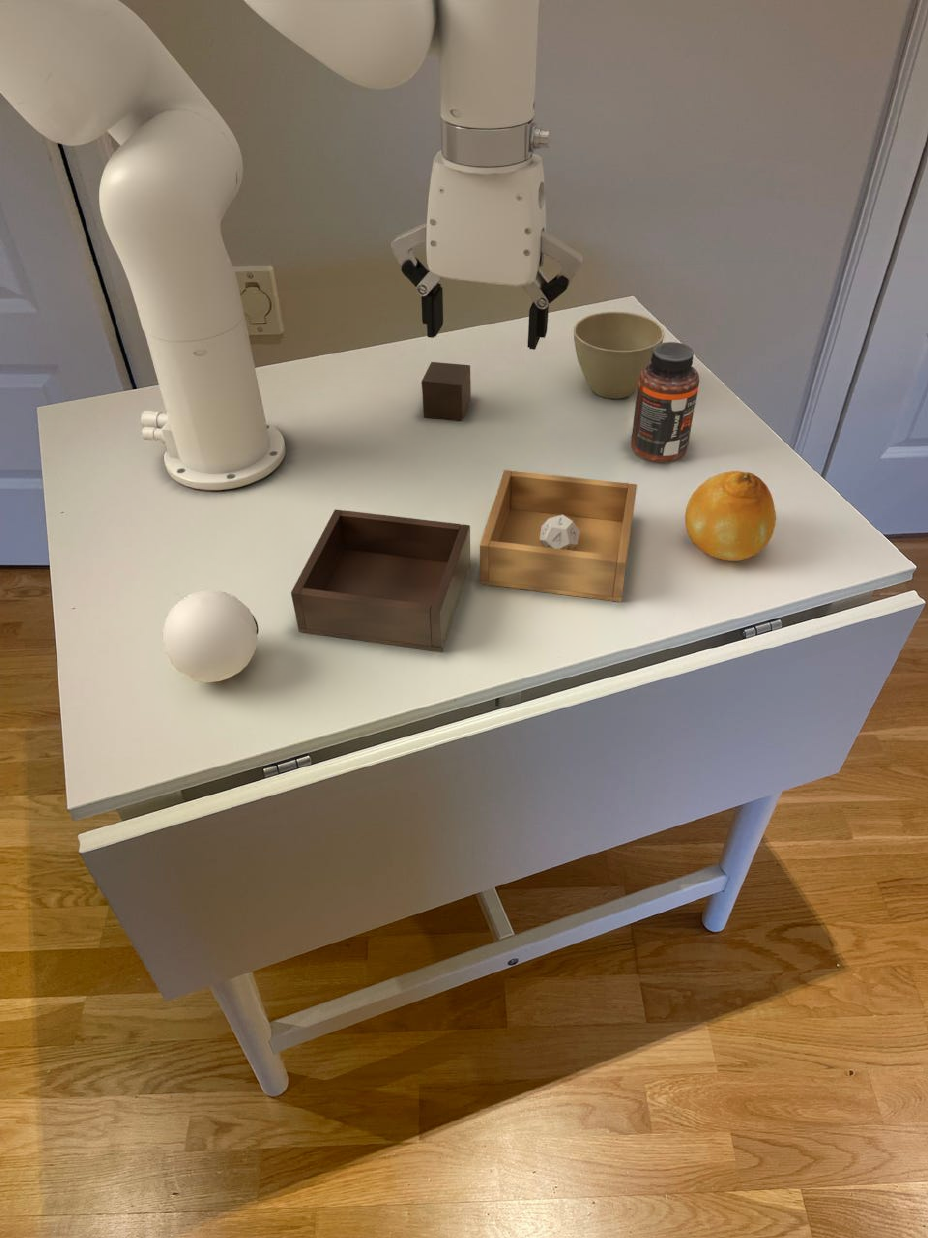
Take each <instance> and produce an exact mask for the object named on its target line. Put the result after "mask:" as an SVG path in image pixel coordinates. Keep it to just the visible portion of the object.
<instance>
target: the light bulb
mask: <svg viewBox="0 0 928 1238" xmlns="http://www.w3.org/2000/svg"><path fill="white" fill-rule="evenodd" d="M175 594H176V595H177V596H179V597H180V598H181V600H180V601H178V602H177V603H176V604H175V605H173V606H172V608H171V609H170V611H169V612H168V614H167V616H166V619H165V621H164V624H163V629H162V643H163V644H162V645H163V648H164V653H165V655H166V657H167V658H168V660H169V661H170V663H171V664H172V666H173V667H174V668H175V669H176V670H177V671H178V672H179V673H181V674H183V675H185V676H186V677H188V678H190V679H192V680H195V681H198V682H204V683H213V682H220V681H224V680H227V679H230V678H232V677H234V676H235V675H238V674H239V673H241V672H242V671H243V670H244V669H245V668H246V667H247V666H248V665H249V663H250V661H251V660H252V658H253V656H254V654H255V652H256V649H257V646H258V635H259V623H258V621H257V619H256V617H255V616H254V614H253V613H252V612H251V610H250V608H249V607H248V606H247V605H246V604H245V603H244V602H243V601H241V600H240V599H238V597H236V596H235V595H233V594H230V593H228V592H225V591H219V590H212V589H207V590H205V589H204V590H199V591H196V592H192V593H190V594H189V595H186V596H185V597H182V596H181V595H180V594H178V593H177V592H175Z"/></svg>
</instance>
